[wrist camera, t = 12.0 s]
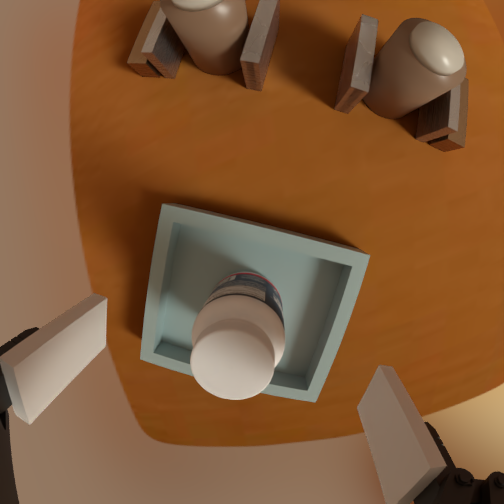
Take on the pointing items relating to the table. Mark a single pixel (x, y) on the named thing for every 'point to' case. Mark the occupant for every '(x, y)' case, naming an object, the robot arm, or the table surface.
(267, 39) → the clip rail
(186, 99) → the table surface
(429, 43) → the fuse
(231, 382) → the pill bottle
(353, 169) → the table surface
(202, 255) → the tray
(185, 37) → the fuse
